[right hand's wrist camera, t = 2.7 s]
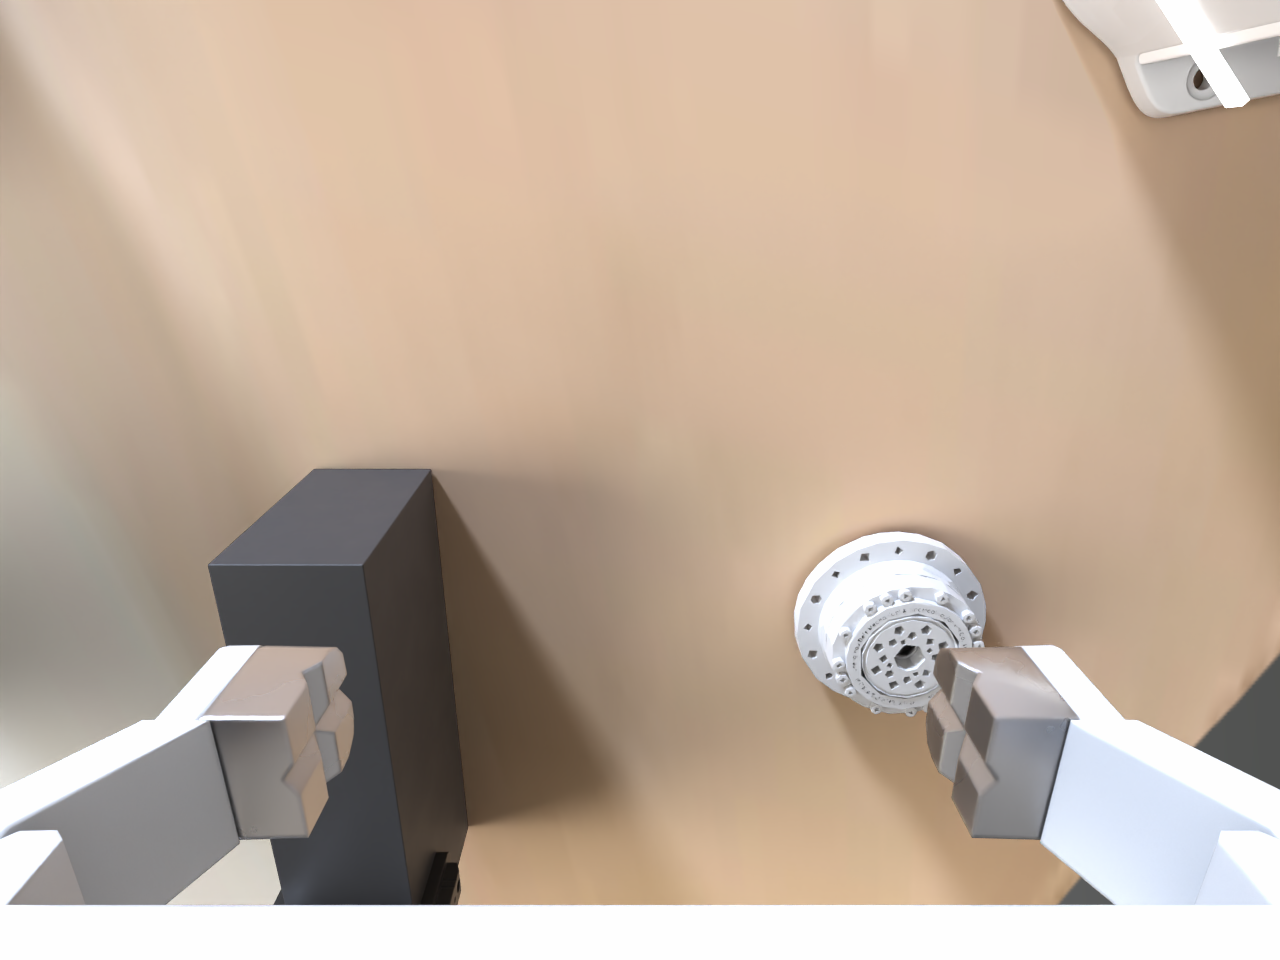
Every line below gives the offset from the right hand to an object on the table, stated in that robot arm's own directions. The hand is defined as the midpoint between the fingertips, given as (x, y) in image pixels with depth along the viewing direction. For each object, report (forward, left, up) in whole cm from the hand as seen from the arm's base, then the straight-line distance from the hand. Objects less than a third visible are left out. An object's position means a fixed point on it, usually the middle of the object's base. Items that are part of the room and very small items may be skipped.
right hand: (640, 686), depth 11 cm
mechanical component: (-13, +16, -28) cm, 35 cm away
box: (+14, +19, -28) cm, 37 cm away
